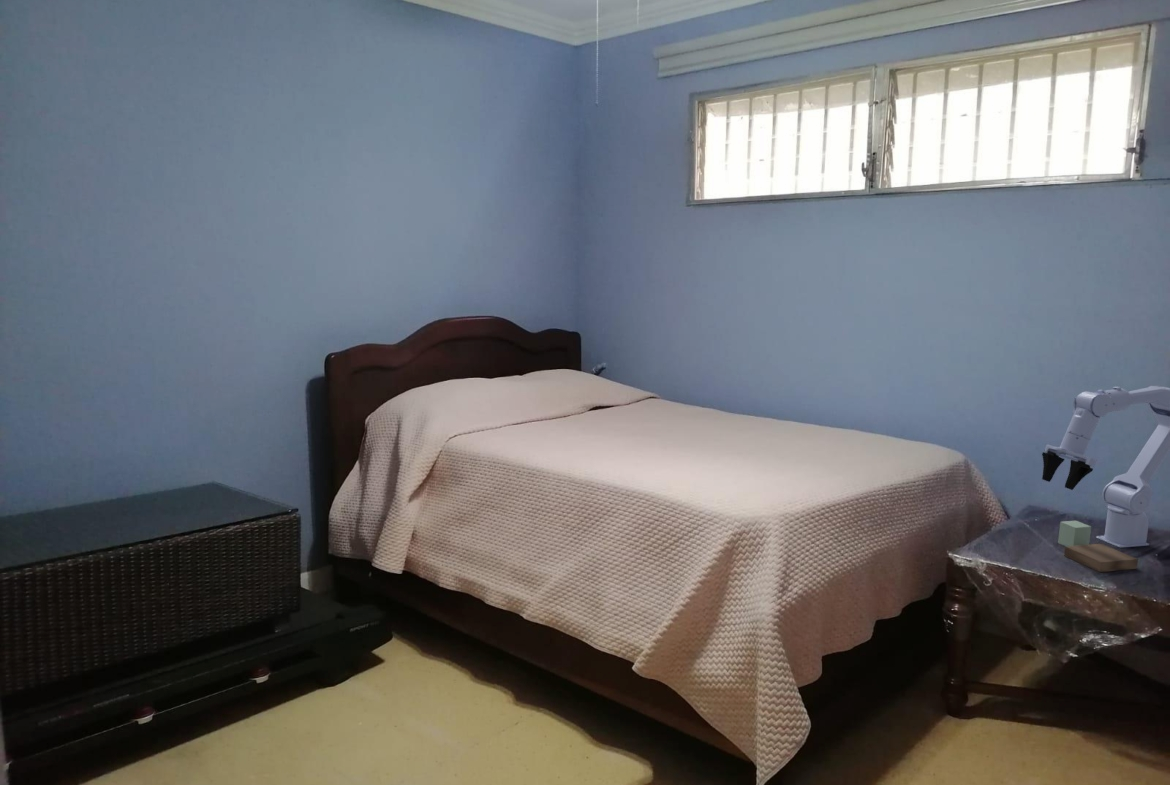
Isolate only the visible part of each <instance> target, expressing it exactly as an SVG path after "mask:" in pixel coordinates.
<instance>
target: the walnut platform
mask: <svg viewBox="0 0 1170 785" xmlns="http://www.w3.org/2000/svg"><path fill="white" fill-rule="evenodd" d="M1063 554H1064V555H1063V556H1065V557H1066V558H1068V559H1070V560H1073V561H1075V562H1077V563H1078V564H1081V565H1084V566H1085V567H1088V568H1090V569H1092V570H1095V571H1096V572H1099V573H1103V572H1113V571H1114V572H1115V571H1125V570H1137V568H1138V562H1139V558H1136V557H1134V556H1131V555H1129V554H1128V553H1124V552H1122V551H1120V550H1117V549H1115V548H1112V547H1111V546H1109V545H1105V544H1104V543H1103V544H1102V543H1091V544H1090V543H1089V545H1077V546H1064V553H1063Z"/></svg>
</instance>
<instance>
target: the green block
mask: <svg viewBox="0 0 1170 785" xmlns="http://www.w3.org/2000/svg"><path fill="white" fill-rule="evenodd" d="M1058 531H1059V532H1058V541H1057V543H1058V544H1059V545H1062V546H1063V547H1065V546H1077V545H1090V539H1091V534H1092V533H1091V531H1092V526H1091V525H1090V524H1089V525H1088V524H1086V523H1083V522H1081V521H1078V520H1068V521H1067V520H1065V521H1060V522H1059V530H1058Z"/></svg>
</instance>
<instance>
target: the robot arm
mask: <svg viewBox="0 0 1170 785" xmlns="http://www.w3.org/2000/svg"><path fill="white" fill-rule="evenodd" d="M1072 404H1073V410H1072V412H1071V413H1072V414H1071V416H1072V418H1071V419H1070V421H1069V424H1068V426H1067V429H1066V431H1065V434H1064V435H1063V438H1062V441H1061V443H1060V445H1059V446H1054V445H1050V444H1046V446H1045V449H1044V451H1043V452H1042V453H1041V456H1042V460H1043V468H1042V478H1041V480H1044V481H1045V482H1048V483H1050V482H1051V481H1052V479H1053V477H1054V475H1055V473H1056V472H1057V470H1058V468H1059V467H1060V466H1061V464H1063V462H1064V461H1065V459H1068V460H1070V466H1069V472H1068V476H1067V478H1066V480H1065V483H1064V488H1065V489H1068V490H1071V491H1073V490H1074V488H1076V487H1077V485H1078V484H1079V482H1081V481H1082V480H1083V478H1085V477H1086V476H1087V475H1088V474H1090V473H1091V472H1093V470H1094V467H1095V465H1096V463H1097V461H1098V459H1095V458H1093V457H1090V456H1087V455H1085V453H1086V450H1087V449H1088V446H1089V444H1090V442H1091V439H1092V436H1093V434H1094V432H1095V430H1096V428H1097V425H1098V423H1099V421H1100V418H1101V417H1102V418H1103V417H1105V416H1107V415H1108V414H1109V413H1114V412H1120V411H1125V410H1128V409H1129V408H1130V407H1131V405H1139V404H1148V407H1149V410H1150V411H1151V413H1152V414H1153V417H1154V419H1156V420H1157V422H1158V424H1157V426H1156V428H1155V429H1154V430H1153V432H1152V434H1151V435H1150V437H1149V439H1148V440H1147V441H1146V443H1145V445H1144V446H1143V447H1142V449H1141V451H1140V452H1139V454H1138V455H1137V457H1136V458H1135V460H1134V461H1133V463H1132V464H1131V465H1130V467H1129V469H1128V470H1127V472H1125V473H1122V474H1118V475H1116V476H1114V477H1113V479H1112V481H1109V483H1107V484H1106V485H1105V486H1104V487H1103V490H1102V493H1101V497H1102V501H1103V502H1104V503H1105V507H1106V508H1107V514H1106V521H1105V530H1104V535H1096V536H1095V538H1096V539H1098V540H1100V541H1103V542H1105V543H1108V544H1110V545H1113V546H1115V547H1118V548H1123V549H1124V548H1131V547H1134V548H1135V547H1144V546H1146V547H1147V546H1149V545H1150V543H1148V542H1147V538H1148V532H1149V531H1148V530H1149V523H1150V522H1149V517H1148V516H1147V513H1146V512H1145V511H1146V510H1148V508H1149V504H1150V502H1151V499H1152V496H1153V495H1154V491H1153V488H1152V487H1151V485H1150V484H1149V483H1150V481H1152V478H1153V477H1154V476H1155V474H1156V472H1157V471H1158V469H1159V468H1160V466H1161V465H1162V464H1163V462H1164V460H1165V459H1166V458H1167V456H1168V455H1169V453H1170V387H1166V386H1163V385H1149V386H1148V387H1144V388H1143V387H1142V388H1139V389H1134V390H1130V391H1129V390H1127V389H1124V388H1122V387H1121V386H1113V387H1112V389H1106V390H1104V389H1098V390H1097V391H1095V392H1092V391H1088V390H1087V391H1082V392H1081V393H1078V394H1077V396H1076V397H1074V398H1073V403H1072ZM1070 456H1071V457H1070Z"/></svg>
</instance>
